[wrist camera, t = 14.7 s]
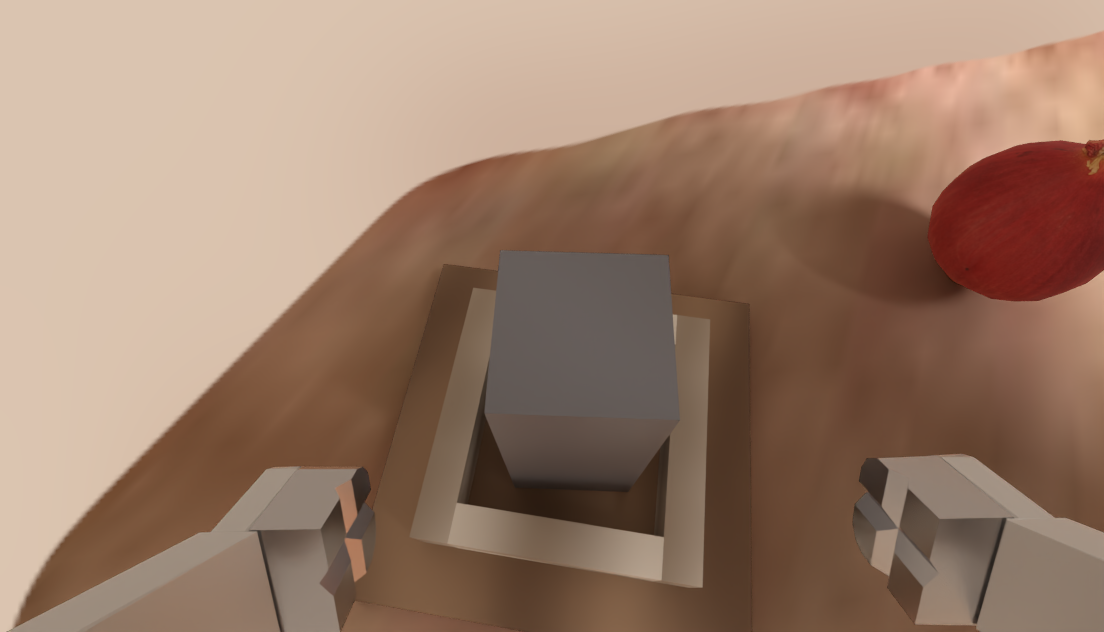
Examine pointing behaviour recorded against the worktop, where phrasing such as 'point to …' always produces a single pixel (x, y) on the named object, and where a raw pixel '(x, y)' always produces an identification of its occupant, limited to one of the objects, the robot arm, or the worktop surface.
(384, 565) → the socket board
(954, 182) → the onion
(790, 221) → the worktop surface
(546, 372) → the plug
